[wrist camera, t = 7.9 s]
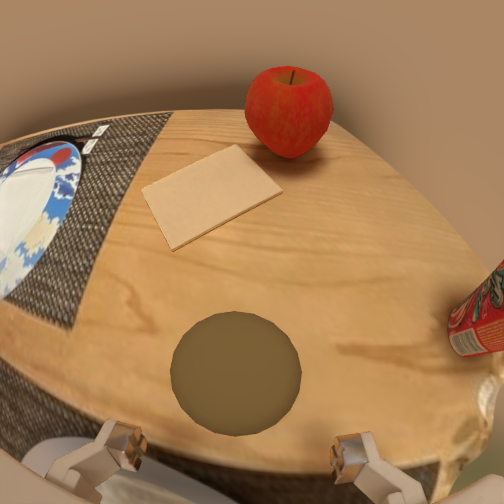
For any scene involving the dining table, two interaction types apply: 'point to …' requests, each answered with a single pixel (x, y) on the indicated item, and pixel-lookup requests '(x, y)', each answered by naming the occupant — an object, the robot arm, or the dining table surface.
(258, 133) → the apple
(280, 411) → the pepper shaker
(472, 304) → the cup
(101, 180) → the dining table surface
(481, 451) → the dining table surface
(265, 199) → the napkin
